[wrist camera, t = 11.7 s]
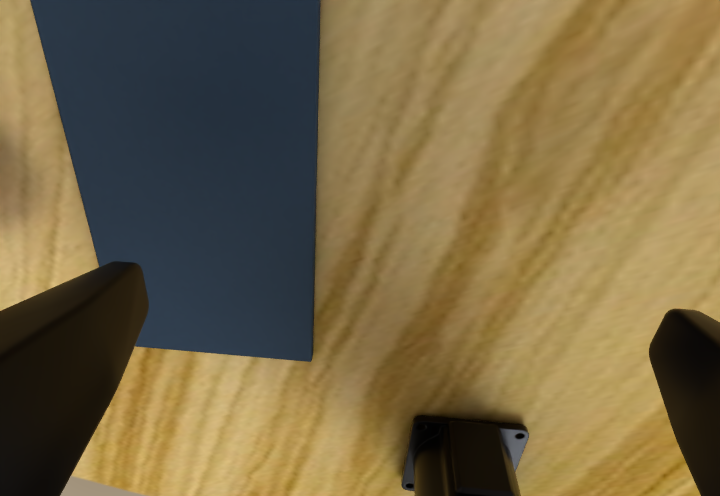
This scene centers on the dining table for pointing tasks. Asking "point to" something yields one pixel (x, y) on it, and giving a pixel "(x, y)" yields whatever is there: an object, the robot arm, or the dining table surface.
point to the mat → (197, 159)
